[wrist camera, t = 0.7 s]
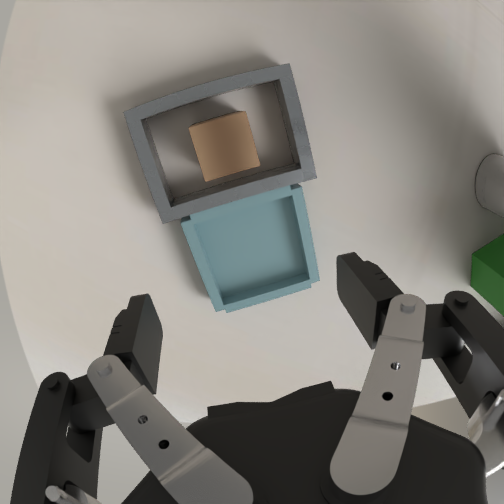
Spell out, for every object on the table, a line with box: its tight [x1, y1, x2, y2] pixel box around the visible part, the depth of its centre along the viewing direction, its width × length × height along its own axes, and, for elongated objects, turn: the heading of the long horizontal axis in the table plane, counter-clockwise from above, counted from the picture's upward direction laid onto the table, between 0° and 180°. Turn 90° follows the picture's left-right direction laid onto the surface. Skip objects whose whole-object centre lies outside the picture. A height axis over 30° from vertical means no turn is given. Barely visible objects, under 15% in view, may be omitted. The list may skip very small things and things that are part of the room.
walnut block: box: [189, 111, 260, 182], centre depth 29 cm, size 5×5×7 cm
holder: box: [124, 63, 317, 224], centre depth 31 cm, size 17×12×3 cm
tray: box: [181, 183, 320, 313], centre depth 37 cm, size 13×13×2 cm
